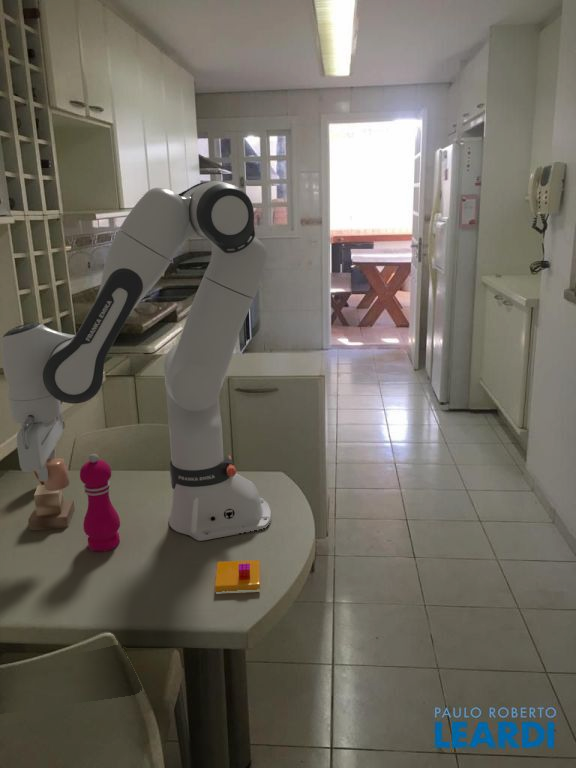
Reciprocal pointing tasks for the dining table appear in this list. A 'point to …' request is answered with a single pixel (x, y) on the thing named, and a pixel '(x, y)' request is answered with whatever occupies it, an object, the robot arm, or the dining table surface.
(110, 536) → the pepper mill
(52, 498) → the cube
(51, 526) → the slab
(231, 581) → the orange square tile
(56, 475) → the tan capsule
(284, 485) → the dining table surface
